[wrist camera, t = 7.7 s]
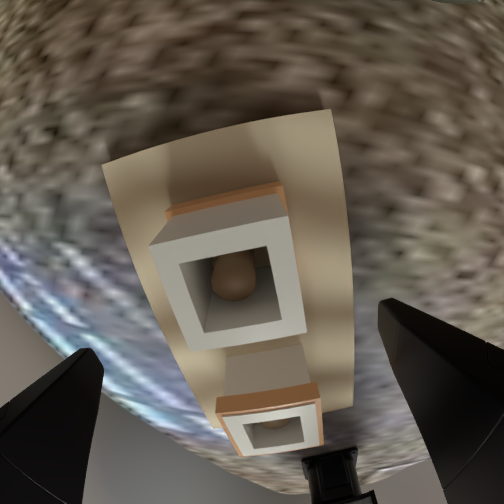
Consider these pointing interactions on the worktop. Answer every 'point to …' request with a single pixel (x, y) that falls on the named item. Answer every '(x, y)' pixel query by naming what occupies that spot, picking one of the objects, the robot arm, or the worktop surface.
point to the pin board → (309, 227)
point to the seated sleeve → (270, 402)
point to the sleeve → (223, 242)
